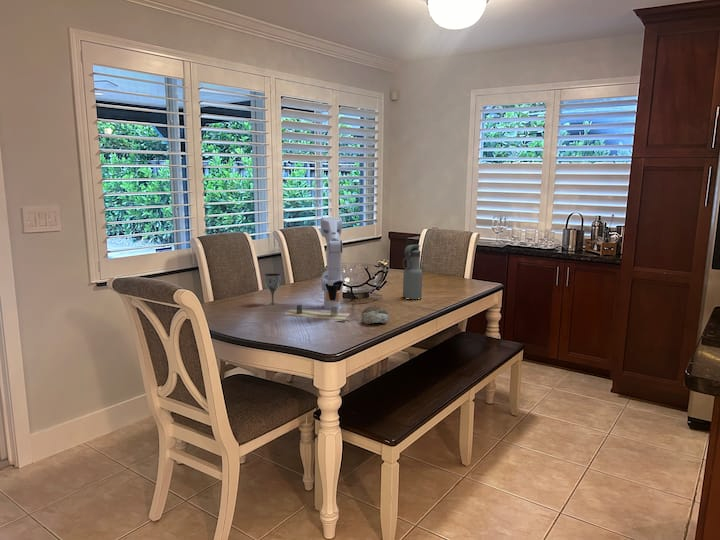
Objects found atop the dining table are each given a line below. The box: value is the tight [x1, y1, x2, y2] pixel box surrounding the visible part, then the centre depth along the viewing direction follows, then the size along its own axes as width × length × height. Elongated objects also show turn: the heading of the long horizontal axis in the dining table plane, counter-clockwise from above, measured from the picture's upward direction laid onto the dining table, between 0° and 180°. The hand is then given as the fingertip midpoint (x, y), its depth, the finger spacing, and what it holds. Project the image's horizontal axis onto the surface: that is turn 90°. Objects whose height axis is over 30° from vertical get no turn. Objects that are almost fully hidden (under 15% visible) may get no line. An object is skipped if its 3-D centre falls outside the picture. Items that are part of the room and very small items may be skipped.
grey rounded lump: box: [361, 305, 390, 325], centre depth 233 cm, size 14×9×10 cm
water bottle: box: [402, 244, 423, 299], centre depth 280 cm, size 10×10×28 cm
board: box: [282, 304, 351, 324], centre depth 240 cm, size 12×28×5 cm, turn 79°
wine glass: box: [263, 272, 282, 307], centre depth 261 cm, size 8×8×15 cm
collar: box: [326, 289, 343, 302], centre depth 237 cm, size 6×6×4 cm
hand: (334, 298), depth 237 cm, fingers closed on collar, 6 cm apart
